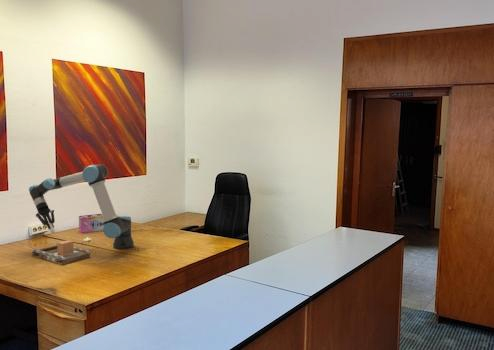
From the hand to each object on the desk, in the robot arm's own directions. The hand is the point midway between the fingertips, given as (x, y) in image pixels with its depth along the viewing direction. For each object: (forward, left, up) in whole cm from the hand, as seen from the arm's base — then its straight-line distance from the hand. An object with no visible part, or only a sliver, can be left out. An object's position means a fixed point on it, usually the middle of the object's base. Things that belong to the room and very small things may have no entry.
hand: (53, 232), depth 306 cm
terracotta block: (-20, +4, -11) cm, 23 cm away
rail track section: (-14, +4, -14) cm, 20 cm away
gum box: (+32, -58, -15) cm, 68 cm away
